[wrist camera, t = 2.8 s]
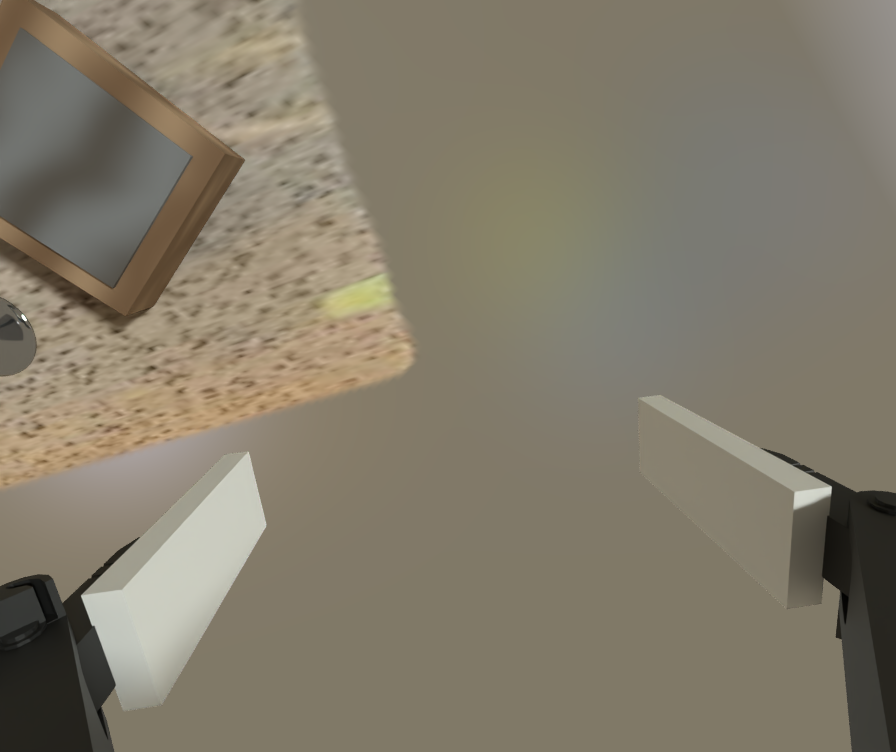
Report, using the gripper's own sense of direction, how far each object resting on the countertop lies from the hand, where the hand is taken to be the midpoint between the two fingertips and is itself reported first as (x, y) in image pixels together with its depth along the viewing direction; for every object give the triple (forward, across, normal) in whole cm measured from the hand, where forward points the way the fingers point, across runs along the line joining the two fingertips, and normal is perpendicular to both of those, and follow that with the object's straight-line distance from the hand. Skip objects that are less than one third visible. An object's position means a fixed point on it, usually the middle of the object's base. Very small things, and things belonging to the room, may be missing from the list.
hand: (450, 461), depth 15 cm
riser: (+24, -22, +16) cm, 36 cm away
